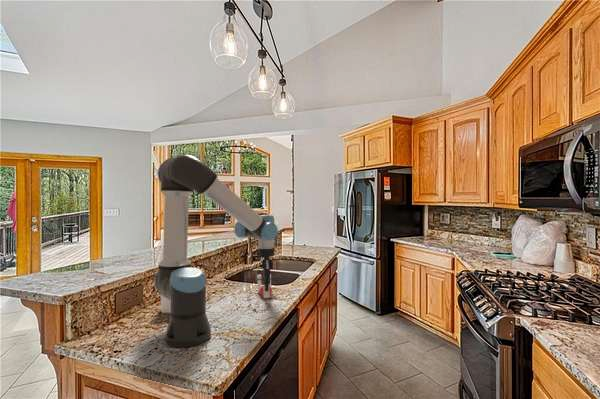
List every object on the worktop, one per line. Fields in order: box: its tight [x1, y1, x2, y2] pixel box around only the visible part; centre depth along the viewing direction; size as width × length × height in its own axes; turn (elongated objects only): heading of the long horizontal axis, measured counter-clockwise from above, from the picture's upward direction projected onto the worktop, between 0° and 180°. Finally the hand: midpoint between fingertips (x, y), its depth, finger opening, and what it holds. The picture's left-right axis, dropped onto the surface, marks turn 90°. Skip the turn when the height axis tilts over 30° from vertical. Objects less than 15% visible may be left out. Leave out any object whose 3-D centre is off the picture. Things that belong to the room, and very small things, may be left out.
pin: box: [256, 274, 262, 294], centre depth 160 cm, size 2×2×9 cm
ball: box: [259, 284, 273, 298], centre depth 152 cm, size 6×6×6 cm
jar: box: [160, 294, 171, 314], centre depth 135 cm, size 9×8×12 cm
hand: (266, 297), depth 146 cm, fingers closed
